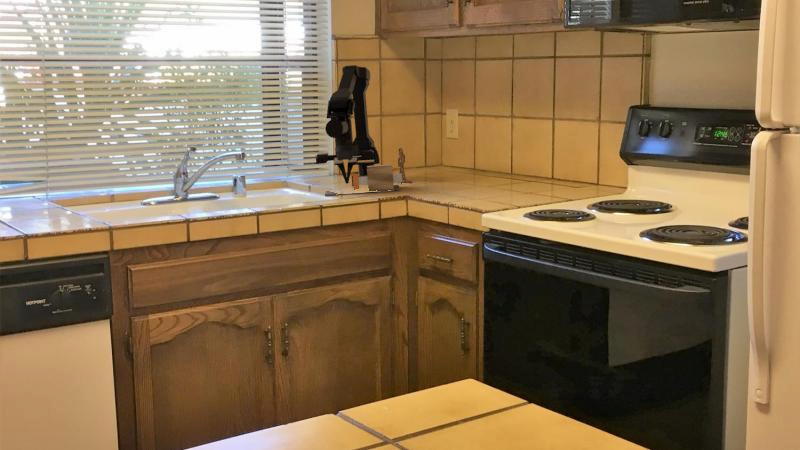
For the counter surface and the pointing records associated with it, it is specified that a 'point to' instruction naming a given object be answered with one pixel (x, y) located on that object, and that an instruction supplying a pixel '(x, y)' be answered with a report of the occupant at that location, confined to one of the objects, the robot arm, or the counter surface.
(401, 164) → the brown figurine
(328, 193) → the mat
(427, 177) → the counter surface
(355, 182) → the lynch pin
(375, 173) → the hitch block
